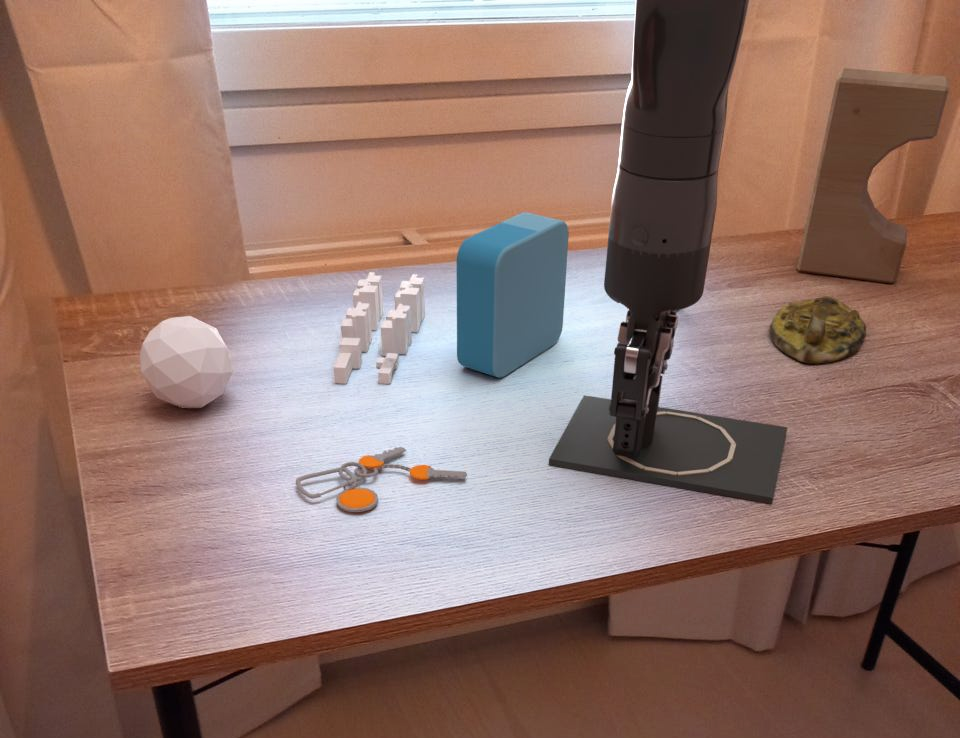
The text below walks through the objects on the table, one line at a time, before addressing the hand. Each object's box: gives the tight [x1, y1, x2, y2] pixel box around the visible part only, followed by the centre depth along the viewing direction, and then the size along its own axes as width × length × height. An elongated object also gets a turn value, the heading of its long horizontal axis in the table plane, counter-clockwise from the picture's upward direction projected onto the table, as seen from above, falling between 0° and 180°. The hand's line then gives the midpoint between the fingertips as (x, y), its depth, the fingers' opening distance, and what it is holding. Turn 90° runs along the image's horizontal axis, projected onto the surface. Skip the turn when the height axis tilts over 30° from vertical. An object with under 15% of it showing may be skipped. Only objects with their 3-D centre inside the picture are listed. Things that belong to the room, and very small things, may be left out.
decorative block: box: [796, 67, 950, 285], centre depth 112 cm, size 11×6×20 cm, turn 69°
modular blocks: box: [332, 271, 426, 394], centre depth 99 cm, size 20×7×4 cm, turn 176°
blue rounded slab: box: [456, 211, 570, 379], centre depth 96 cm, size 12×4×12 cm, turn 145°
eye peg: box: [624, 390, 660, 448], centre depth 84 cm, size 3×3×4 cm
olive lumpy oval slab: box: [769, 295, 867, 365], centre depth 103 cm, size 9×5×15 cm
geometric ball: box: [138, 315, 234, 409], centre depth 89 cm, size 8×8×8 cm
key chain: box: [295, 446, 468, 513], centre depth 81 cm, size 13×7×1 cm, turn 119°
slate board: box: [548, 394, 788, 505], centre depth 86 cm, size 18×12×1 cm, turn 72°
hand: (635, 433), depth 85 cm, fingers open, 6 cm apart
